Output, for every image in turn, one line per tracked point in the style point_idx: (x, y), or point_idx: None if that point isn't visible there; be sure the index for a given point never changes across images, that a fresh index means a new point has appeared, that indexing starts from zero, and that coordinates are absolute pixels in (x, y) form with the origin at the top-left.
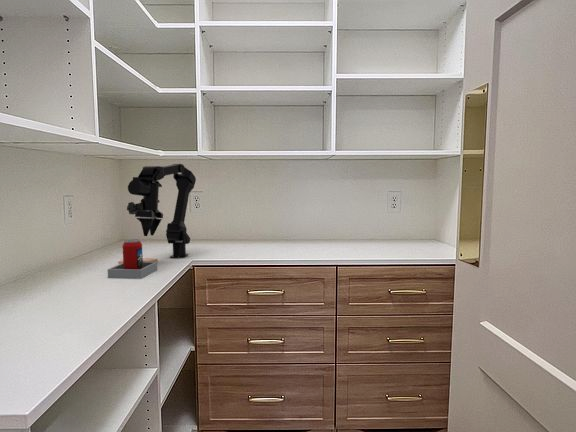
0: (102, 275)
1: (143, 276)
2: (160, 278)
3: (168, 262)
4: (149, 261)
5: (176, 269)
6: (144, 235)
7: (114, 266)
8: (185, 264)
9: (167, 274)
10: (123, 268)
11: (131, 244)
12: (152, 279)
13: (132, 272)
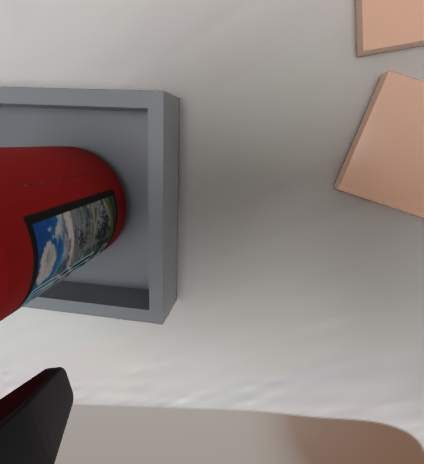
0: (18, 21)
1: None
2: (29, 361)
3: (392, 306)
4: (353, 194)
5: (199, 392)
6: (46, 376)
7: (8, 88)
8: (323, 415)
9: (98, 373)
10: (112, 109)
11: None
12: (7, 333)
13: None
